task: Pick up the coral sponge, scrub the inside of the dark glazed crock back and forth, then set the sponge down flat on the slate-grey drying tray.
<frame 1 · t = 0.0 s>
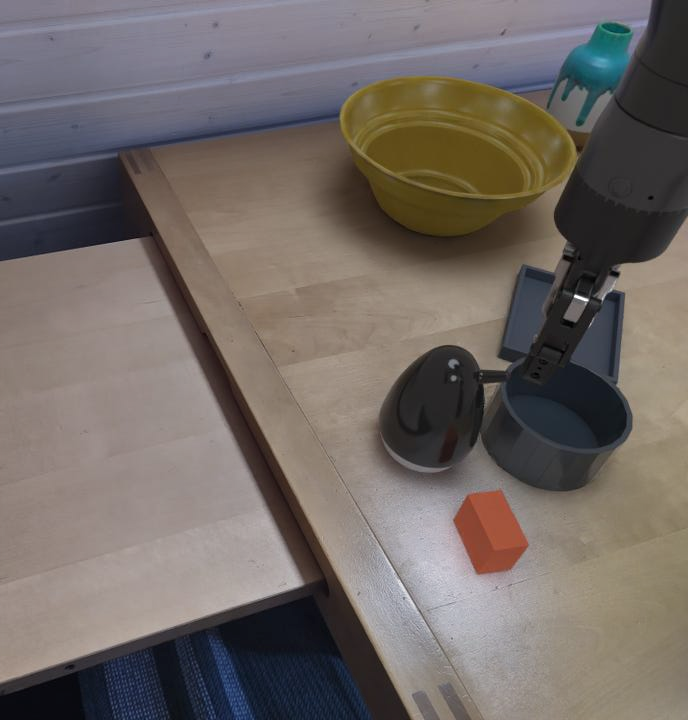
hand: (544, 345, 58), 22 cm above the table, tool pointing down, fingers open, 8 cm apart
pump dispenser: (418, 449, 78), on the table
sponge: (481, 544, 71), on the table
crock: (540, 440, 79), on the table
drying tray: (560, 329, 91), on the table
planter bowl: (430, 209, 108), on the table
vase: (565, 141, 123), on the table
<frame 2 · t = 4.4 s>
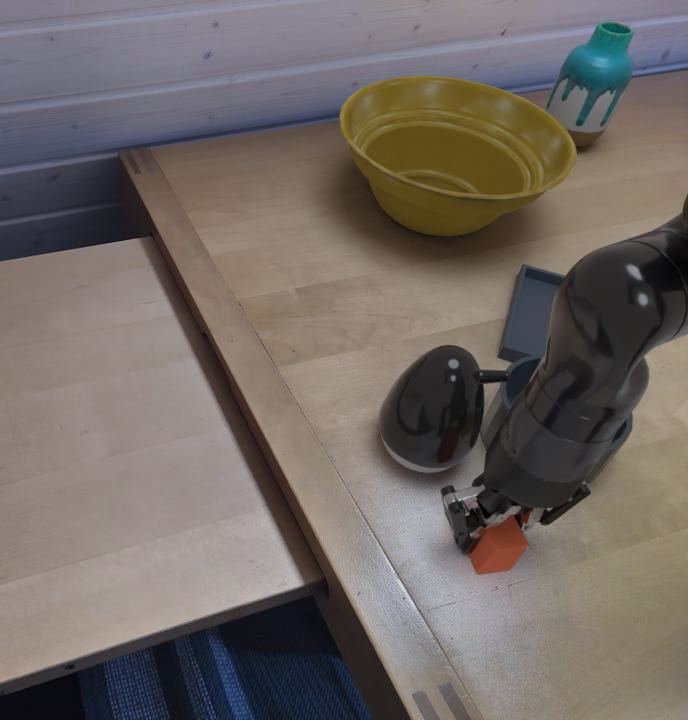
hand: (482, 542, 70), 0 cm above the table, tool pointing down, fingers closed on sponge, 3 cm apart
sponge: (481, 544, 71), on the table, touching gripper
everything else where it was.
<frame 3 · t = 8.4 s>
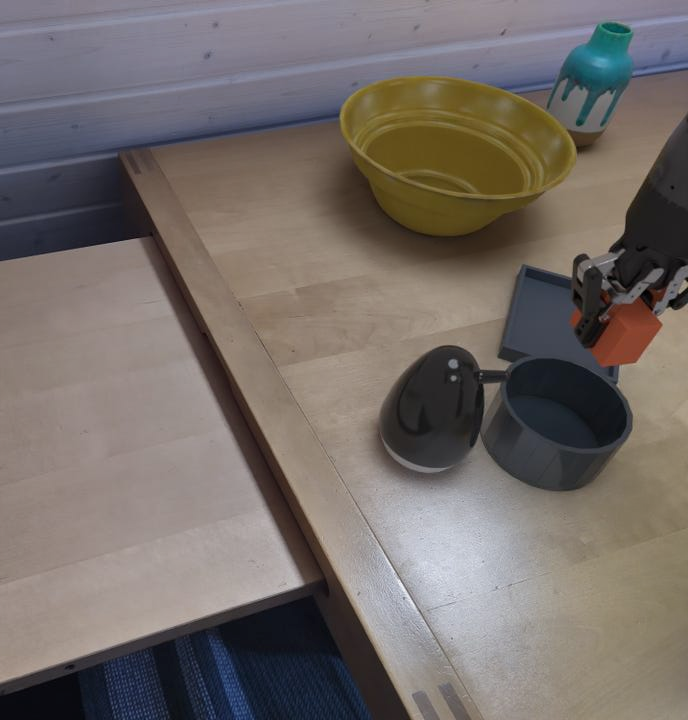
hand: (603, 339, 67), 17 cm above the table, tool pointing down, fingers closed on sponge, 3 cm apart
sponge: (601, 341, 67), point 16 cm above the table, touching gripper
everything else where it was.
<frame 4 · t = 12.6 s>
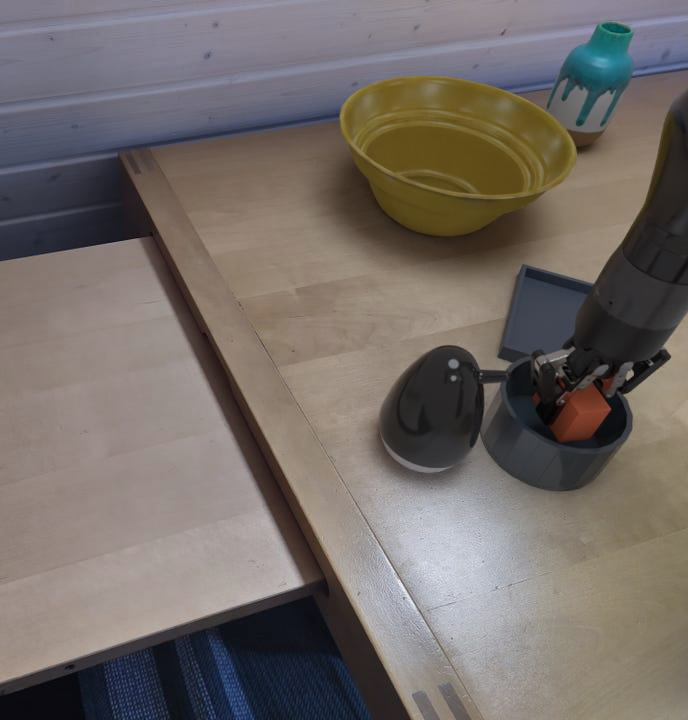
hand: (562, 416, 75), 5 cm above the table, tool pointing down, fingers closed on sponge, 3 cm apart
sponge: (560, 418, 75), point 5 cm above the table, touching gripper
everything else where it was.
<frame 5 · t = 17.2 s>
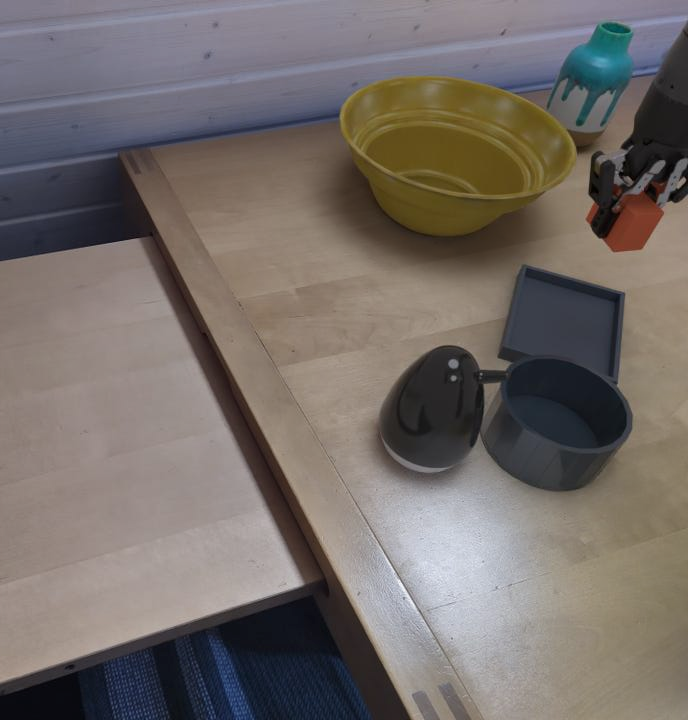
hand: (615, 231, 80), 16 cm above the table, tool pointing down, fingers closed on sponge, 3 cm apart
sponge: (612, 234, 80), point 15 cm above the table, touching gripper
everything else where it was.
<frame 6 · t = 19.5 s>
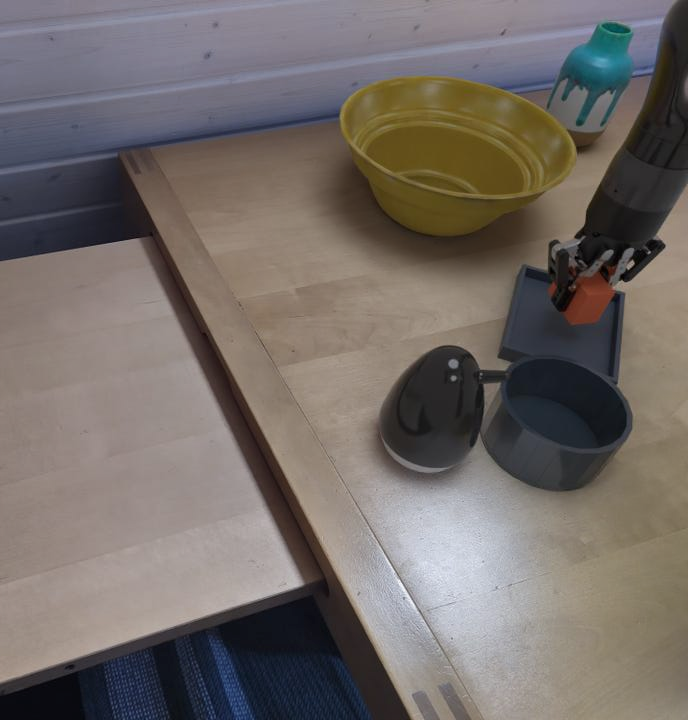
hand: (573, 305, 88), 4 cm above the table, tool pointing down, fingers closed on sponge, 3 cm apart
sponge: (571, 307, 89), point 4 cm above the table, touching gripper
everything else where it was.
when the fingers open (1 cm above the table, at t = 20.8 s): sponge stays where it is, resting on drying tray.
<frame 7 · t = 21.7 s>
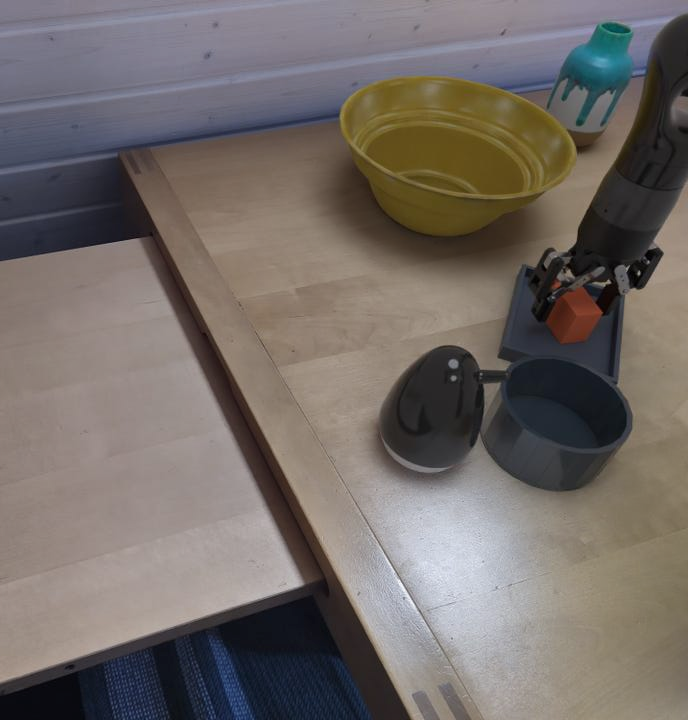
hand: (569, 314, 89), 3 cm above the table, tool pointing down, fingers open, 8 cm apart
sponge: (561, 326, 91), resting on drying tray
everything else where it was.
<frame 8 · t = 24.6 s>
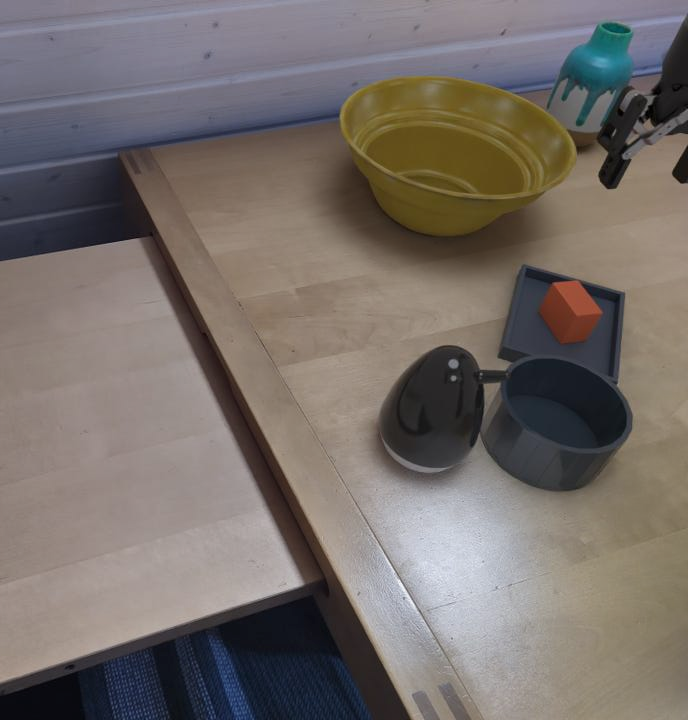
hand: (643, 182, 75), 22 cm above the table, tool pointing down, fingers open, 8 cm apart
nothing on the table moved.
at the end: sponge inside the target area in the drying tray (0.1 cm from its centre), point 0.5 cm above the drying tray's base; sponge tilted 0°; the gripper is holding nothing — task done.
